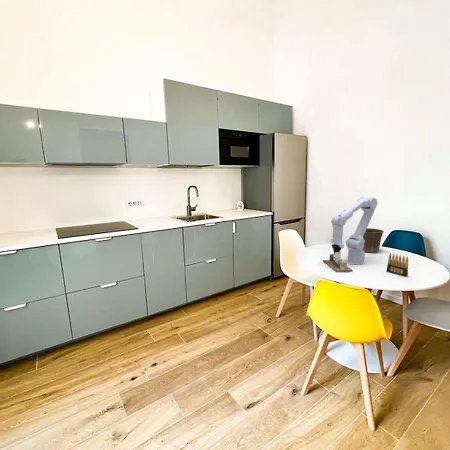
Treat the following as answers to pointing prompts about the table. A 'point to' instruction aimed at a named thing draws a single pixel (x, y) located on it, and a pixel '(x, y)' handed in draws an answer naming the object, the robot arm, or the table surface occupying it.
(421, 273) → the table surface
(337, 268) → the brown plate
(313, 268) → the table surface
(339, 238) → the robot arm
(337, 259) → the green sliding block
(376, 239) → the plant pot
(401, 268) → the ammunition clip
